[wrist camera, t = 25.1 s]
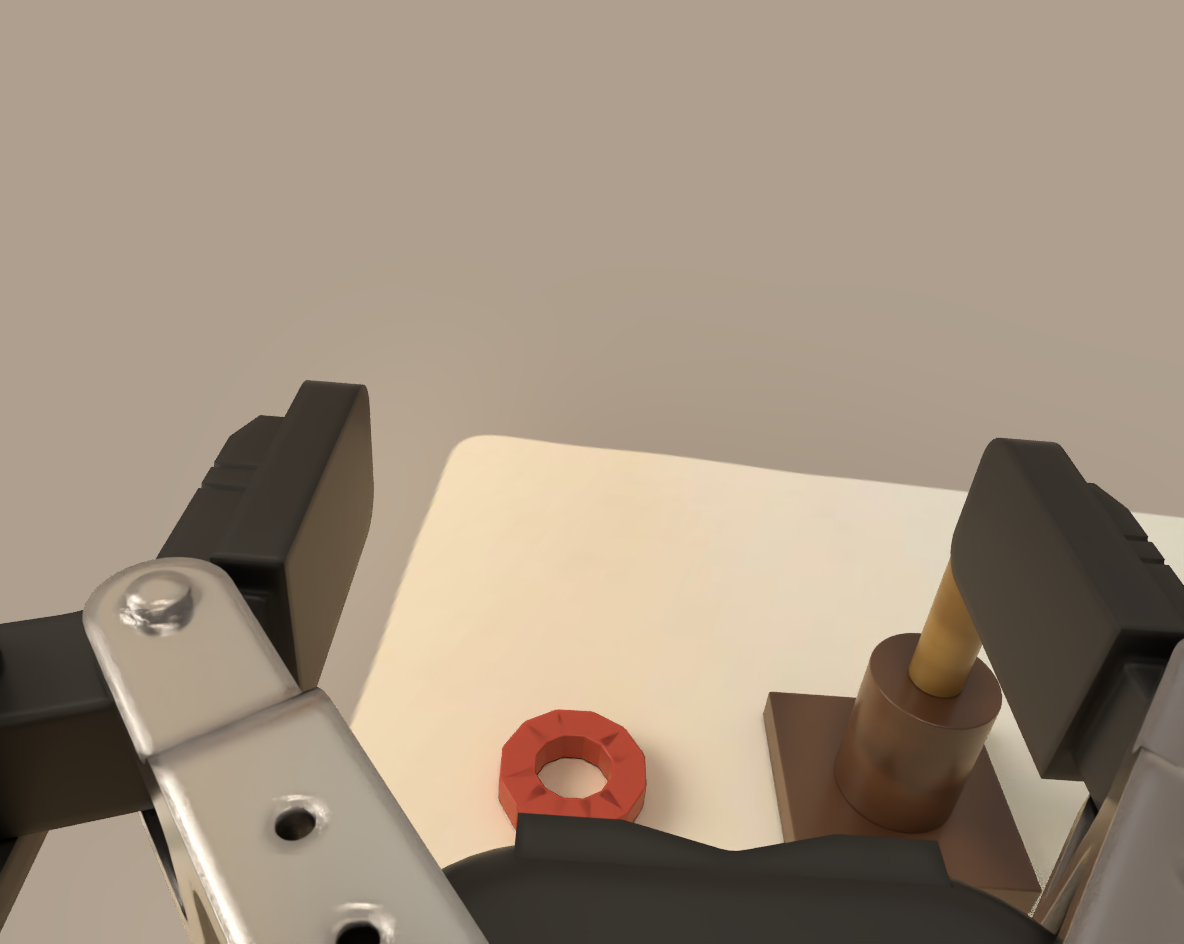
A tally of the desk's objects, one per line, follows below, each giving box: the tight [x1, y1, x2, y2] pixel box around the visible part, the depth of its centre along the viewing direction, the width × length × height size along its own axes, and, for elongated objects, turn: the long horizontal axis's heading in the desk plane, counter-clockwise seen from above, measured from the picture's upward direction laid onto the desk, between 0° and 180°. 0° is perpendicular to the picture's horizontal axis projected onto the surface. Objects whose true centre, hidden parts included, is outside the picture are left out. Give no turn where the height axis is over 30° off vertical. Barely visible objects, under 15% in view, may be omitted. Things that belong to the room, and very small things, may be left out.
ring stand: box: [763, 557, 1041, 913], centre depth 36 cm, size 9×9×15 cm
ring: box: [499, 710, 646, 829], centre depth 39 cm, size 6×6×1 cm
